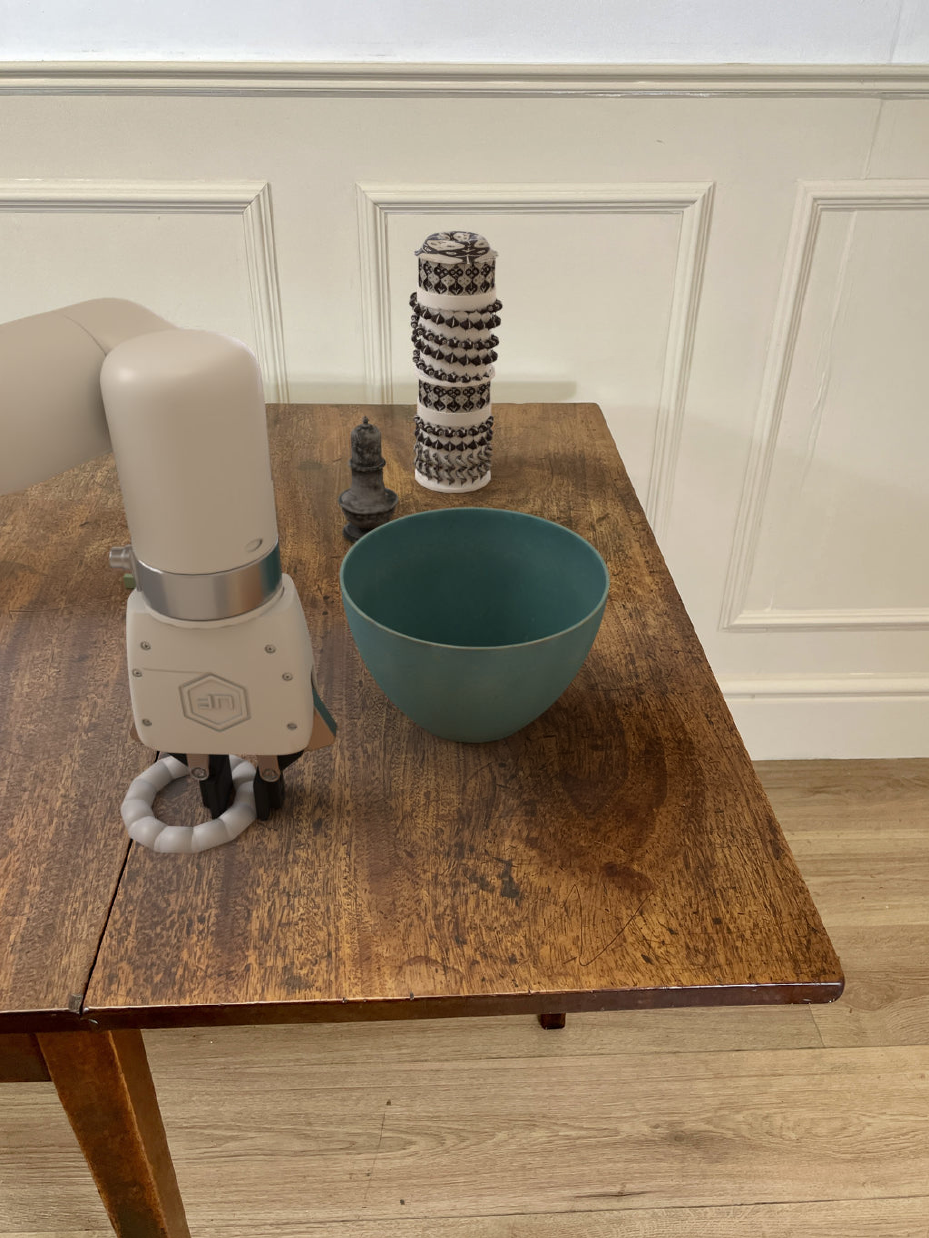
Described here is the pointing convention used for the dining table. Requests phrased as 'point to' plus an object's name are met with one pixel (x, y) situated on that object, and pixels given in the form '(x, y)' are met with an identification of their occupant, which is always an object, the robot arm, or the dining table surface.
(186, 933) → the dining table surface
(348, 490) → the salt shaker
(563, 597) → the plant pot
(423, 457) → the decorative candle
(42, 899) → the dining table surface
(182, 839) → the ring
